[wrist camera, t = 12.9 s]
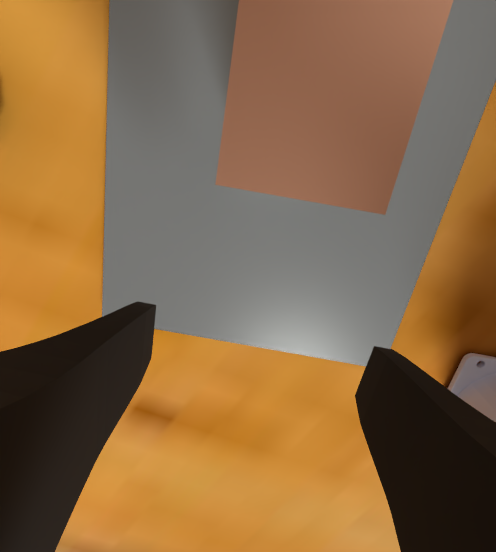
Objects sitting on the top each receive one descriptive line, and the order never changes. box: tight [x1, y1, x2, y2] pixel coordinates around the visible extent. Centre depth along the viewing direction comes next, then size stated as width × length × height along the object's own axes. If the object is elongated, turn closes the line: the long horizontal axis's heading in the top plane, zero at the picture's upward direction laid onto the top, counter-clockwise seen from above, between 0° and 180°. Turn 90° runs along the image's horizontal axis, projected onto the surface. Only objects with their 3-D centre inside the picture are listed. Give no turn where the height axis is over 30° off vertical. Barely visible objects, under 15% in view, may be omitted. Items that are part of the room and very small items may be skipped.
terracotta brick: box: [215, 0, 453, 215], centre depth 9 cm, size 4×5×5 cm
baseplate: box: [102, 0, 496, 366], centre depth 18 cm, size 18×20×1 cm
